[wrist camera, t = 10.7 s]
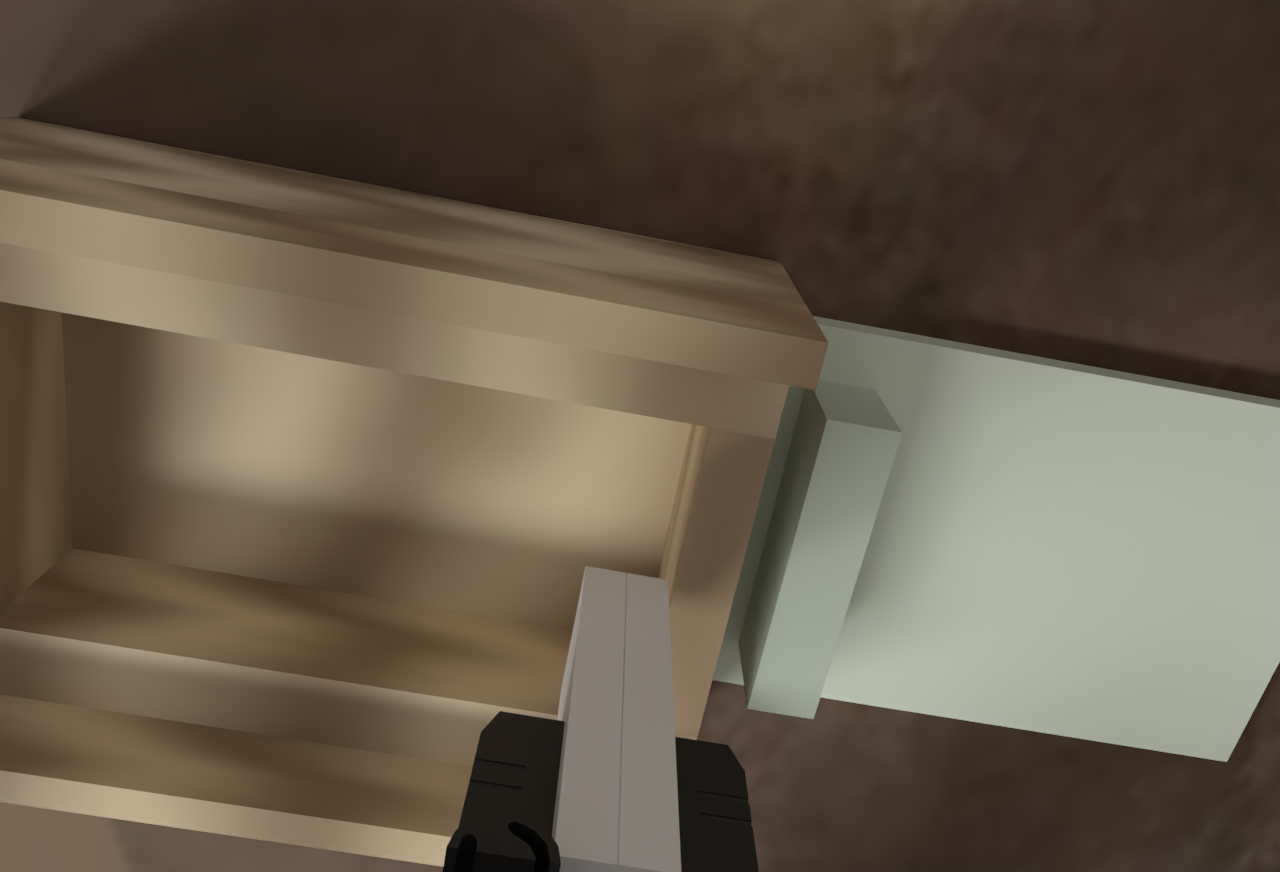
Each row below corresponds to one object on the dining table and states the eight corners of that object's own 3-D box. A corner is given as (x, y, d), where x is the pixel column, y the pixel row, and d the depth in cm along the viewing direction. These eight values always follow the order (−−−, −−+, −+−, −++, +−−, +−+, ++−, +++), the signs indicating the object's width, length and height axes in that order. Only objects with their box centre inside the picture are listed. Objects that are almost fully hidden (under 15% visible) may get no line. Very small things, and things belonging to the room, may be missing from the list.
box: (46, 610, 24) (-137, 781, 18) (15, 116, 19) (-238, 146, 14) (670, 709, 25) (676, 900, 19) (780, 261, 20) (829, 343, 15)
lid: (692, 649, 25) (698, 745, 21) (776, 303, 21) (799, 353, 18) (1201, 730, 26) (1286, 836, 22) (1364, 410, 22) (1494, 477, 19)
